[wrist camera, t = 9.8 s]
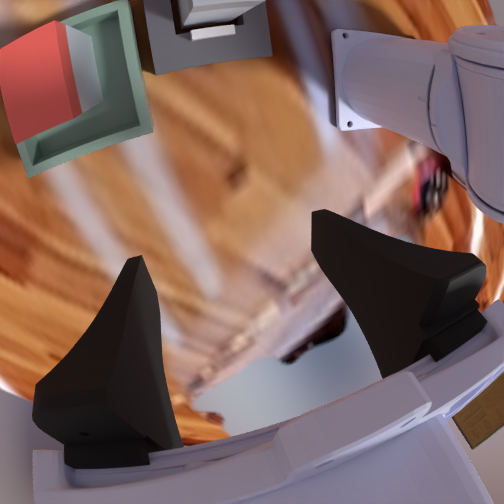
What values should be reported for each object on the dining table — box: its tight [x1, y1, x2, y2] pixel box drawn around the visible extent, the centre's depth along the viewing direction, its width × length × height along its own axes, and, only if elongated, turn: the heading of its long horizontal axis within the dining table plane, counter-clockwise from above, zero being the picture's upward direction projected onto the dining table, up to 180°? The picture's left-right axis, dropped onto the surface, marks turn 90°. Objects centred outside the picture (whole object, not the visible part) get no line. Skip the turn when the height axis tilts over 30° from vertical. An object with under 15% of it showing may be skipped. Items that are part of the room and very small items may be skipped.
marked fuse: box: [0, 20, 104, 145], centre depth 10 cm, size 3×4×7 cm, turn 6°
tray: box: [16, 0, 154, 178], centre depth 13 cm, size 8×8×2 cm
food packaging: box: [452, 372, 504, 449], centre depth 37 cm, size 13×9×25 cm
